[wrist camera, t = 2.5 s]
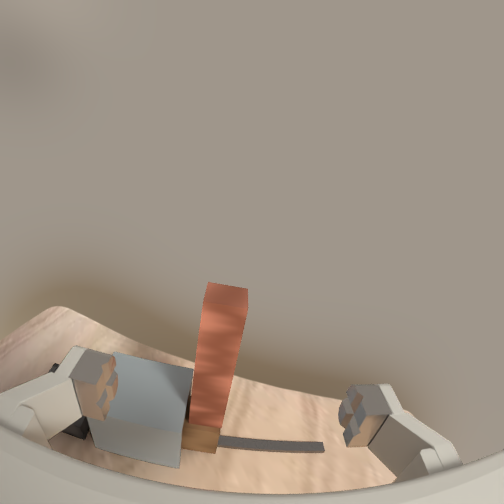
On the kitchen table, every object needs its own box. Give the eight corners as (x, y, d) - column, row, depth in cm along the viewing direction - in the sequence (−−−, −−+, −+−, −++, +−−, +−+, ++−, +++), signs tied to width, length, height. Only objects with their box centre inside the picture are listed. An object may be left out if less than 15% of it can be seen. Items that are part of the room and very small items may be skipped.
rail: (97, 420, 28) (96, 418, 28) (101, 411, 29) (100, 409, 29) (323, 452, 30) (324, 450, 30) (321, 443, 31) (322, 442, 31)
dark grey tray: (31, 418, 24) (26, 405, 24) (58, 376, 32) (54, 363, 31) (84, 439, 25) (80, 427, 24) (105, 392, 32) (103, 378, 32)
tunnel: (95, 447, 25) (84, 408, 22) (118, 392, 33) (114, 351, 31) (178, 468, 25) (181, 433, 23) (189, 408, 34) (193, 368, 32)
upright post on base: (121, 434, 27) (109, 286, 21) (132, 406, 31) (129, 263, 25) (216, 453, 27) (248, 313, 22) (218, 423, 32) (247, 285, 26)
